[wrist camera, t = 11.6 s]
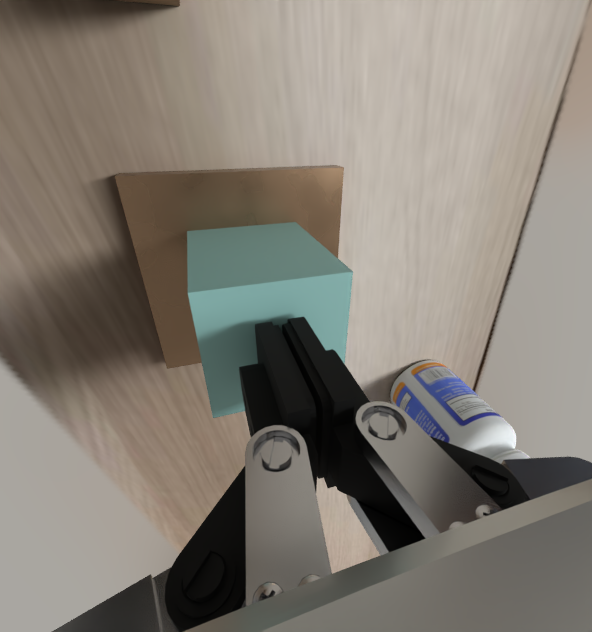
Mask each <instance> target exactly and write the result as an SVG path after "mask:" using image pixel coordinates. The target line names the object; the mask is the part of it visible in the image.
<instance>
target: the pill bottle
mask: <svg viewBox="0 0 592 632" xmlns="http://www.w3.org/2000/svg"><path fill="white" fill-rule="evenodd" d="M390 397H391V402H392V404H393V405H395V406H398V407H399V408H401V409H402V410H403V411H405V412H406V413H407V414H408V415H409V416H410V417H411V418H412V419H413V420H414V421H415V422H416V423H417V424H418V425H419V426H420V427H421V428H422V429H423V430H424V431H425V432H426V433H427V434H428V435H429V436H431V437H434V438H437V439H439V440H442V441H445V442H447V443H450V444H453V445H455V446H458V447H461V448H464V449H466V450H469V451H472V452H474V453H477V454H480V455H482V456H485V457H488V458H490V459H492V460H494V461H496V462H498V463H500V464H502V462H503V460H507V459H528V458H530V457H529V456H528V455H527V454H525V453H523V452H522V451H520V450H515V445H516V434H515V432H514V430H513V428H512V427H511V425H509V423H508V422H506V421H505V420H504V419H503V418H502V417H501V416H500V415H499V414H498V413H497V412H496V411H495V410H494V409H492V408H491V407H490V406H489V405H488V404H487V403H486V402H485V401H483V400H482V399H481V398H480V397H479V396H478V395H477V394H476V393H475V392H474V391H473V390H471V389H470V388H469V387H468V386H467V385H466V384H465V383H464V382H463V381H461V380H460V379H459V378H458V377H457V376H456V375H455V374H454V373H453V372H451V371H450V370H449V369H448V368H447V367H446V366H444V365H443V364H442V363H440V362H438V361H434V360H426V361H422V362H419V363H416V364H414V365H412V366H411V367H409V368H408V369H406V370H405V371H404V372H403V373H402V374H401V375H400V376H399V377H398V378H397V379H396V380H395V382H394V384H393V386H392V389H391V394H390Z"/></svg>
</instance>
